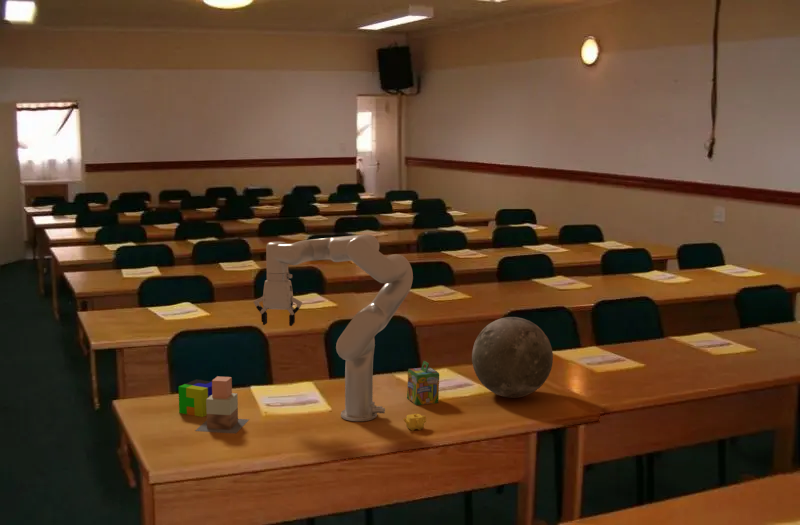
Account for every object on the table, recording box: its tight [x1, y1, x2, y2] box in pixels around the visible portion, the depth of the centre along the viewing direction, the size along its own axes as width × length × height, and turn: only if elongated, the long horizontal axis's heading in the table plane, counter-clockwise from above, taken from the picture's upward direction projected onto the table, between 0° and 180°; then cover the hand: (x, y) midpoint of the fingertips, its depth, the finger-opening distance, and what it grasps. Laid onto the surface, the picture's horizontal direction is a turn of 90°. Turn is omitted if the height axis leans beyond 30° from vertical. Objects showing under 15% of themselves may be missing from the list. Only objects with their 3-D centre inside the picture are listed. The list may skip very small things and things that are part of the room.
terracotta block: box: [211, 375, 233, 399], centre depth 294 cm, size 5×5×6 cm
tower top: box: [206, 392, 239, 415], centre depth 295 cm, size 8×8×5 cm
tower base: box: [206, 408, 239, 430], centre depth 296 cm, size 8×8×5 cm
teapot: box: [402, 413, 427, 432], centre depth 295 cm, size 8×6×5 cm
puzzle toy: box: [177, 378, 212, 418], centre depth 310 cm, size 10×10×10 cm
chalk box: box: [406, 360, 440, 406], centre depth 324 cm, size 9×9×15 cm
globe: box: [471, 316, 554, 399], centre depth 330 cm, size 30×30×30 cm
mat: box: [194, 418, 250, 434], centre depth 296 cm, size 14×14×1 cm
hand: (278, 324), depth 312 cm, fingers open, 9 cm apart
